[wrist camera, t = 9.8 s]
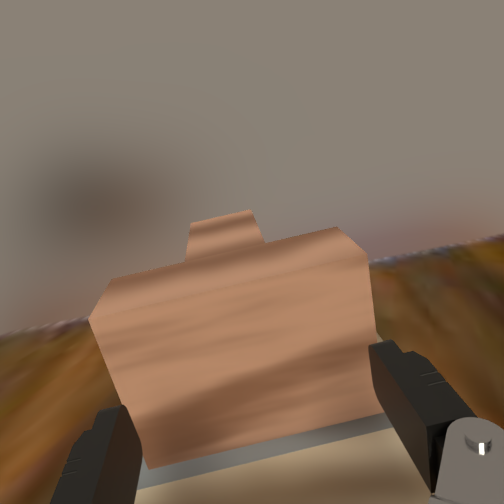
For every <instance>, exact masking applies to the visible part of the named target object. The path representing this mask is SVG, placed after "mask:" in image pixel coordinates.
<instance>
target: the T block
mask: <svg viewBox="0 0 504 504" xmlns="http://www.w3.org/2000/svg"><path fill="white" fill-rule="evenodd" d="M88 320H89V323H90V325H91V328H92V330H93V333H94V335H95V338H96V340H97V343H98V345H99V348H100V350H101V353H102V355H103V358H104V360H105V363H106V365H107V368H108V370H109V373H110V375H111V378H112V380H113V383H114V385H115V388H116V390H117V393H118V395H119V398H120V400H121V403H122V405H125V406H126V407H127V409H128V412H129V414H130V416H131V419H132V421H133V424H134V426H135V428H136V431H137V433H138V436H139V438H140V441H141V445H142V452H143V457H144V460H145V462H146V465H147V467H148V470H151V469H155V468H159V467H163V466H167V465H171V464H175V463H179V462H183V461H187V460H192V459H196V458H200V457H204V456H208V455H212V454H216V453H220V452H224V451H228V450H232V449H236V448H241V447H245V446H249V445H253V444H257V443H261V442H265V441H269V440H273V439H277V438H281V437H285V436H290V435H294V434H298V433H302V432H306V431H310V430H314V429H318V428H322V427H326V426H330V425H334V424H339V423H343V422H347V421H351V420H355V419H359V418H363V417H367V416H371V415H375V414H379V413H383V412H384V410H383V408H382V407H381V405H380V403H379V401H378V399H377V396H376V394H375V391H374V387H373V382H372V375H371V367H370V360H369V352H368V346H369V345H370V344H374V343H377V335H376V326H375V318H374V309H373V301H372V292H371V283H370V275H369V266H368V258H367V253H366V252H364V251H363V250H362V249H361V248H360V247H359V246H358V245H357V244H356V243H354V242H353V241H352V240H351V239H350V238H349V237H348V236H347V235H346V234H344V233H343V232H342V231H341V230H340V229H338V227H333V228H329V229H325V230H320V231H317V232H312V233H308V234H303V235H299V236H294V237H290V238H286V239H281V240H277V241H273V242H269V243H265V242H264V239H263V237H262V235H261V232H260V230H259V228H258V225H257V223H256V221H255V218H254V216H253V214H252V211H251V210H246V211H242V212H237V213H234V214H229V215H225V216H220V217H216V218H212V219H207V220H203V221H199V222H194V223H191V227H190V233H189V239H188V245H187V252H186V258H185V262H183V263H178V264H174V265H170V266H166V267H161V268H157V269H153V270H148V271H144V272H140V273H135V274H131V275H127V276H122V277H118V278H114V279H111V281H110V283H109V284H108V286H107V288H106V290H105V291H104V293H103V295H102V296H101V298H100V300H99V302H98V303H97V305H96V307H95V308H94V310H93V312H92V314H91V315H90V317H89V319H88Z"/></svg>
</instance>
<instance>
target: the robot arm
mask: <svg viewBox="0 0 504 504" xmlns="http://www.w3.org/2000/svg"><path fill="white" fill-rule="evenodd" d="M368 352H369V360H370V367H371V375H372V382H373V387H374V391H375V394H376V396H377V399H378V401H379V403H380V405H381V407H382V408H383V410H384V412H385V414H386V415H387V417H388V419H389V421H390V422H391V424H392V426H393V428H394V429H395V431H396V433H397V435H398V436H399V438H400V440H401V442H402V443H403V445H404V447H405V449H406V450H407V452H408V454H409V456H410V457H411V459H412V461H413V463H414V464H415V466H416V468H417V470H418V471H419V473H420V475H421V477H422V478H423V480H424V482H425V484H426V485H427V487H428V489H429V491H430V492H431V496H430V498H429V501H428V504H504V430H503V429H502V428H500V427H499V426H498V425H496V424H494V423H492V422H490V421H488V420H485V419H481V418H478V417H477V416H476V415H475V414H474V413H473V411H472V410H471V409H470V408H469V407H468V406H467V404H466V403H465V402H464V401H463V400H462V399H461V397H460V396H459V395H458V394H457V393H456V392H455V390H454V389H453V388H452V387H451V386H450V385H449V383H448V382H446V381H445V379H444V378H443V377H442V375H441V374H440V373H438V372H437V370H436V368H435V367H434V366H433V365H432V364H431V363H430V361H429V360H428V359H426V358H425V357H423V356H421V355H419V354H417V353H416V352H414V351H411V352H407V353H403V352H402V351H401V350H400V349H399V347H398V346H397V345H396V343H395V342H394V341H393V340H386V341H382V342H378V343H374V344H370V345H369V346H368ZM142 458H143V452H142V445H141V441H140V438H139V436H138V433H137V431H136V428H135V426H134V424H133V421H132V419H131V416H130V414H129V412H128V409H127V407H126V406H125V405H119V406H115V407H111V408H107V409H103V410H100V411H99V412H98V414H97V416H96V419H95V422H94V425H93V427H92V429H91V430H87V431H84V433H83V434H82V435H81V436H80V438H79V439H78V440H77V441H76V443H75V444H74V445H73V447H72V449H71V452H70V454H69V457H68V459H67V464H65V467H64V469H63V472H62V477H60V479H59V482H58V484H57V487H56V489H55V492H54V494H53V497H52V499H51V502H50V504H134V502H135V497H136V492H137V486H138V481H139V476H140V470H141V465H142ZM432 493H435V494H434V495H432Z"/></svg>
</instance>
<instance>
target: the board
mask: <svg viewBox="0 0 504 504" xmlns="http://www.w3.org/2000/svg"><path fill="white" fill-rule="evenodd" d="M376 335H377V343H378V342H382V341H383V340H382V339H381V337H380V336H379V335H378V334H377V332H376ZM434 494H435V493H432V495H434ZM430 496H431V492H430V491H429V489H428V487H427V485H426V484H425V482H424V480H423V478H422V477H421V475H420V473H419V471H418V470H417V468H416V466H415V464H414V463H413V461H412V459H411V457H410V456H409V454H408V452H407V450H406V449H405V447H404V445H403V443H402V442H401V440H400V438H399V436H398V435H397V433H396V431H395V429H394V428H393V426H392V424H391V422H390V421H389V419H388V417H387V415H386V414H385V412H383V413H379V414H375V415H371V416H367V417H363V418H359V419H355V420H351V421H347V422H343V423H339V424H334V425H330V426H326V427H322V428H318V429H314V430H310V431H306V432H302V433H298V434H294V435H290V436H285V437H281V438H277V439H273V440H269V441H265V442H261V443H257V444H253V445H249V446H245V447H241V448H236V449H232V450H228V451H224V452H220V453H216V454H212V455H208V456H204V457H200V458H196V459H192V460H187V461H183V462H179V463H175V464H171V465H167V466H163V467H159V468H155V469H151V470H148V467H147V465H146V462H145V460H144V457H143V458H142V465H141V470H140V476H139V481H138V486H137V492H136V497H135V502H134V504H428V501H429V498H430Z"/></svg>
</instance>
